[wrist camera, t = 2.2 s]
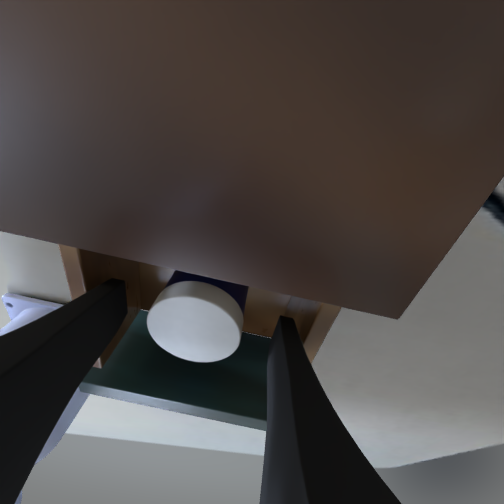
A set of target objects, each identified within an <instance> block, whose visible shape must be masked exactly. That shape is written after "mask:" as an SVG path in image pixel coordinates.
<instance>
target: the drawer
mask: <svg viewBox="0 0 504 504" xmlns="http://www.w3.org/2000/svg"><path fill="white" fill-rule="evenodd" d="M58 246H59V250H60V254H61V258H62V262H63V266H64V270H65V274H66V278H67V282H68V286H69V290H70V294H71V298H72V300H74V299H76V298H78V297H79V296H81V295H83V294H85V293H86V292H88V291H90V290H92V289H93V288H95V287H97V286H98V285H100V284H102V283H104V282H105V281H107V280H109V279H111V278H115V279H119V280H124V281H125V285H126V296H127V307H128V313H127V315H126V317H125V319H124V321H123V323H122V325H121V326H120V328H119V330H118V332H117V333H116V335H115V336H114V338H113V339H112V340H111V342H110V343H109V345H108V346H107V347H106V349H105V350H104V351H103V353H102V354H101V356H100V357H99V358H98V360H97V361H96V363H95V364H94V365H93V367H92V368H91V369H90V371H89V372H88V374H87V375H86V376H85V378H84V379H83V381H82V382H81V384H80V385H79V390H80V392H84V393H89V394H93V395H98V396H103V397H108V398H112V399H117V400H122V401H126V402H131V403H136V404H141V405H145V406H150V407H155V408H160V409H164V410H169V411H174V412H178V413H183V414H188V415H193V416H197V417H202V418H207V419H212V420H216V421H221V422H226V423H230V424H235V425H240V426H245V427H249V428H254V429H259V430H263V431H266V430H267V361H268V352H269V343H270V341H271V338H272V335H273V333H274V330H275V327H276V325H277V322H278V319H279V316H280V315H281V316H285V317H290V318H293V319H294V321H295V324H296V327H297V330H298V333H299V336H300V338H301V341H302V344H303V346H304V349H305V351H306V354H307V356H308V358H309V361H310V363H312V361H313V359H314V357H315V355H316V354H317V352H318V350H319V348H320V346H321V344H322V343H323V341H324V339H325V337H326V335H327V333H328V332H329V330H330V328H331V326H332V324H333V322H334V320H335V319H336V317H337V315H338V313H339V311H340V309H341V308H342V307H339V306H335V305H330V304H326V303H321V302H317V301H312V300H308V299H303V298H299V297H294V296H290V295H285V294H281V293H276V292H272V291H268V290H263V289H259V288H254V287H250V286H249V288H248V293H247V299H246V305H245V311H244V316H243V328H242V331H243V332H242V334H241V340H240V344H239V346H238V348H237V349H236V350H235V351H234V353H232V354H231V355H230V356H228V357H226V358H224V359H222V360H218V361H214V362H195V361H189V360H185V359H182V358H179V357H177V356H175V355H173V354H171V353H169V352H167V351H166V350H164V349H163V348H162V347H160V346H159V345H158V344H157V343H156V342H155V340H154V339H153V338H152V336H151V335H150V333H149V331H148V327H147V315H148V311H149V310H150V308H151V307H152V305H153V304H154V302H155V300H156V299H157V297H158V295H159V294H160V293H161V292H162V291H163V290H164V288H165V286H166V285H167V283H168V281H169V280H170V278H171V276H172V275H173V273H174V272H175V270H173V269H169V268H164V267H160V266H155V265H151V264H146V263H142V262H137V261H133V260H129V259H124V258H120V257H115V256H111V255H106V254H102V253H97V252H93V251H88V250H84V249H79V248H75V247H70V246H66V245H61V244H58ZM141 309H143V310H148V311H143V310H141ZM244 332H248V333H252V334H248V333H244ZM253 334H257V335H262V336H266V337H271V338H266V337H262V336H257V335H253Z"/></svg>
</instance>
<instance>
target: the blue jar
mask: <svg viewBox="0 0 504 504" xmlns="http://www.w3.org/2000/svg"><path fill="white" fill-rule="evenodd" d="M248 288H249V286H245V285H241V284H236V283H232V282H227V281H223V280H218V279H214V278H209V277H205V276H200V275H196V274H191V273H187V272H182V271H178V270H175V272H174V273H173V275H172V276H171V278H170V280H169V281H168V283H167V285H166V286H165V288H164V290H163V291H162V292H161V293H160V294H159V295H158V297H157V299H156V300H155V302H154V304H153V305H152V307H151V308H150V310H149V312H148V315H147V327H148V331H149V333H150V335H151V336H152V338H153V339H154V340H155V342H156V343H157V344H158V345H159V346H160V347H162V348H163V349H164V350H166V351H167V352H169V353H171V354H173V355H175V356H177V357H179V358H182V359H185V360H189V361H195V362H214V361H218V360H222V359H224V358H226V357H228V356H230V355H231V354H232V353H234V351H235V350H236V349H237V348H238V346H239V344H240V340H241V334H242V328H243V316H244V311H245V305H246V299H247V293H248Z"/></svg>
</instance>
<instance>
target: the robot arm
mask: <svg viewBox="0 0 504 504" xmlns="http://www.w3.org/2000/svg"><path fill="white" fill-rule="evenodd" d="M2 300H3V303H4V305H5V307H6V309H7V312H8V314H9V316H10V318H11V320H12V321H11V322H9V323H8V324H7V325H6V326H5V327H3V328H2V329H1V330H0V504H21V500H22V488H23V486H24V484H25V482H26V480H27V478H28V476H29V474H30V472H31V470H32V468H33V466H34V465H35V464H37V463H38V462H39V461H41V460H42V459H43V458H44V457H46V456H47V455H48V454H49V453H50V452H51V451H52V450H53V449H54V447H55V446H56V445H57V444H58V443H59V441H60V440H61V438H62V436H63V435H64V434H65V432H66V430H67V429H68V427H69V426H70V424H71V423H72V421H73V420H74V418H75V417H76V415H77V413H78V412H79V410H80V409H81V407H82V406H83V404H84V403H85V401H86V399H87V398H88V396H89V395H90V394H89V393H84V392H80V390H79V385H80V384H81V382H82V381H83V379H84V378H85V376H86V375H87V374H88V372H89V371H90V369H91V368H92V367H93V365H94V364H95V363H96V361H97V360H98V358H99V357H100V356H101V354H102V353H103V351H104V350H105V349H106V347H107V346H108V345H109V343H110V342H111V340H112V339H113V338H114V336H115V335H116V333H117V332H118V330H119V328H120V326H121V325H122V323H123V321H124V319H125V317H126V315H127V313H128V307H127V296H126V285H125V281H124V280H119V279H115V278H111V279H109V280H107V281H105V282H104V283H102V284H100V285H98V286H97V287H95V288H93V289H92V290H90V291H88V292H86V293H85V294H83V295H81V296H79V297H78V298H76V299H74V300H72V301H71V302H69V303H67V304H65V305H62V304H57V303H53V302H48V301H44V300H39V299H35V298H30V297H25V296H21V295H16V294H12V293H6V294H5V295H3V296H2ZM260 504H401V503H400V501H399V500H398V499H397V497H396V496H395V495H394V494H393V493H392V491H391V490H390V489H389V487H388V486H387V485H386V484H385V482H384V481H383V480H382V479H381V477H380V476H379V475H378V474H377V472H376V471H375V469H374V468H373V467H372V465H371V464H370V463H369V461H368V460H367V459H366V457H365V456H364V454H363V453H362V452H361V450H360V449H359V447H358V446H357V444H356V443H355V441H354V440H353V438H352V437H351V435H350V434H349V432H348V431H347V429H346V428H345V426H344V425H343V423H342V421H341V420H340V418H339V416H338V415H337V413H336V412H335V410H334V408H333V406H332V405H331V403H330V401H329V399H328V398H327V396H326V394H325V392H324V390H323V388H322V386H321V384H320V382H319V380H318V378H317V376H316V374H315V372H314V370H313V368H312V365H311V363H310V361H309V358H308V356H307V354H306V351H305V349H304V346H303V344H302V341H301V338H300V336H299V333H298V330H297V327H296V324H295V321H294V319H293V318H290V317H285V316H281V315H280V316H279V319H278V322H277V325H276V327H275V330H274V333H273V335H272V338H271V341H270V343H269V352H268V361H267V430H266V442H265V454H264V465H263V475H262V485H261V494H260Z"/></svg>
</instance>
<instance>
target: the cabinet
mask: <svg viewBox="0 0 504 504" xmlns="http://www.w3.org/2000/svg"><path fill="white" fill-rule="evenodd" d="M503 177H504V0H0V231H3V232H7V233H12V234H16V235H21V236H25V237H30V238H34V239H39V240H43V241H48V242H52V243H57V244H61V245H66V246H70V247H75V248H79V249H84V250H88V251H93V252H97V253H102V254H106V255H111V256H115V257H120V258H124V259H129V260H133V261H137V262H142V263H146V264H151V265H155V266H160V267H164V268H169V269H173V270H178V271H182V272H187V273H191V274H196V275H200V276H205V277H209V278H214V279H218V280H223V281H227V282H232V283H236V284H241V285H245V286H250V287H254V288H259V289H263V290H268V291H272V292H276V293H281V294H285V295H290V296H294V297H299V298H303V299H308V300H312V301H317V302H321V303H326V304H330V305H335V306H339V307H344V308H348V309H353V310H357V311H362V312H366V313H371V314H375V315H380V316H384V317H389V318H393V319H399V318H400V316H401V315H402V314H403V312H404V311H405V310H406V308H407V307H408V306H409V304H410V303H411V302H412V300H413V299H414V297H415V296H416V295H417V293H418V292H419V291H420V289H421V288H422V287H423V285H424V284H425V283H426V281H427V280H428V278H429V277H430V276H431V274H432V273H433V272H434V270H435V269H436V268H437V266H438V265H439V263H440V262H441V261H442V259H443V258H444V257H445V255H446V254H447V253H448V251H449V250H450V249H451V247H452V246H453V244H454V243H455V242H456V240H457V239H458V238H459V236H460V235H461V234H462V232H463V231H464V230H465V228H466V227H467V225H468V224H469V223H470V221H471V220H472V219H473V217H474V216H475V215H476V213H477V212H478V210H479V209H480V208H481V206H482V205H483V204H484V202H485V201H486V200H487V198H488V197H489V196H490V194H491V193H492V191H493V190H494V189H495V187H496V186H497V185H498V183H499V182H500V181H501V179H502V178H503Z"/></svg>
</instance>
